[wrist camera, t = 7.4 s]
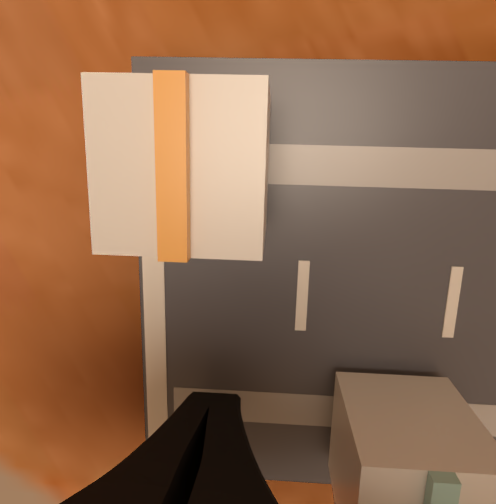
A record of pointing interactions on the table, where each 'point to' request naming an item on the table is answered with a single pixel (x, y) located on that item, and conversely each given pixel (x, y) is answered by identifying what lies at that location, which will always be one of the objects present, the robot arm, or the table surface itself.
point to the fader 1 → (177, 164)
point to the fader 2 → (407, 443)
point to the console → (340, 254)
